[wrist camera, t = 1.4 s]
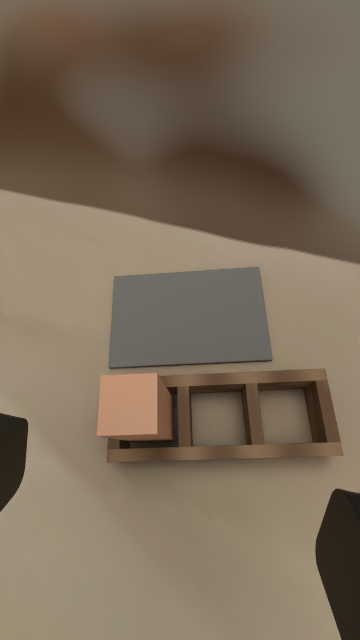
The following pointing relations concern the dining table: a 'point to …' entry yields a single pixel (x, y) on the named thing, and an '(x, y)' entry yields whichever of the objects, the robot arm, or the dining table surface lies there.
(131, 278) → the mat
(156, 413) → the block
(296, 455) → the stand
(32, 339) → the dining table surface
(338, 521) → the robot arm
